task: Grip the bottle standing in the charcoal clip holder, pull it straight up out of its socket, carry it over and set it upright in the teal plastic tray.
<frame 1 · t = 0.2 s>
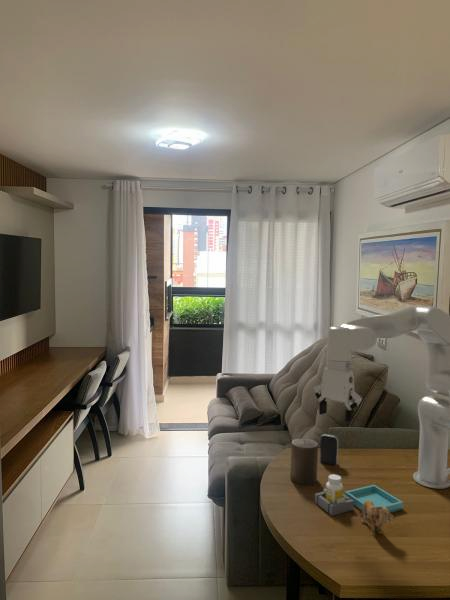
hand: (335, 417, 144), 30 cm above the table, tool pointing down, fingers open, 9 cm apart
clip holder: (333, 506, 146), on the table
tray: (373, 503, 148), on the table
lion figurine: (374, 528, 134), on the table
battery charger: (329, 462, 180), on the table
pillar candle: (303, 479, 165), on the table
supplement bottle: (333, 506, 146), resting in clip holder
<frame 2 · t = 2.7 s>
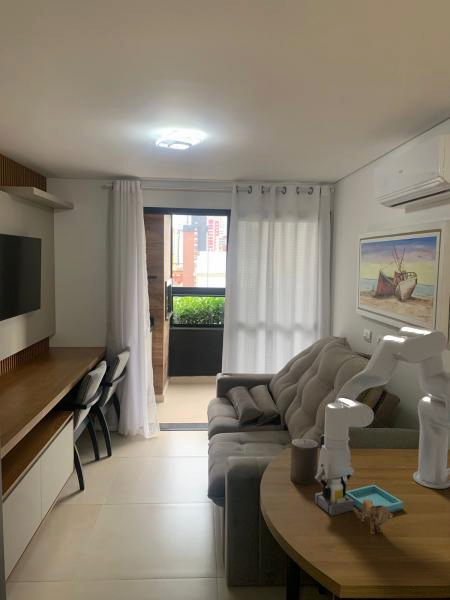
hand: (334, 495, 146), 4 cm above the table, tool pointing down, fingers closed on supplement bottle, 5 cm apart
supplement bottle: (333, 506, 146), resting in clip holder, touching gripper
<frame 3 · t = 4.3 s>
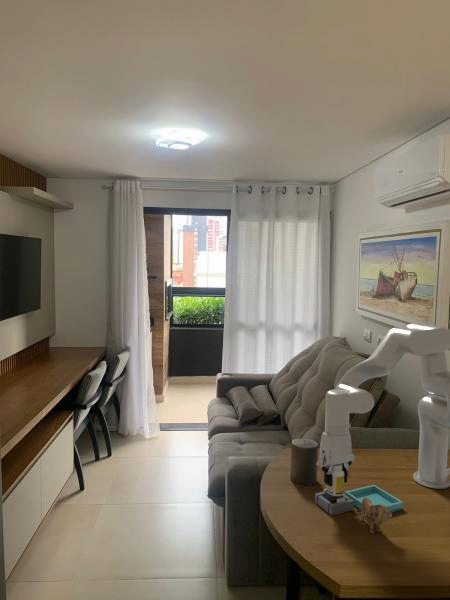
hand: (335, 482, 146), 8 cm above the table, tool pointing down, fingers closed on supplement bottle, 5 cm apart
supplement bottle: (335, 493, 146), point 4 cm above the table, touching gripper
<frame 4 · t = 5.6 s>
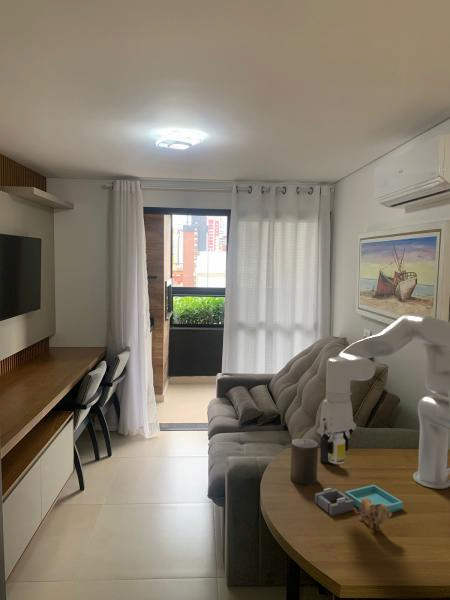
hand: (336, 450, 145), 19 cm above the table, tool pointing down, fingers closed on supplement bottle, 5 cm apart
supplement bottle: (336, 461, 145), point 15 cm above the table, touching gripper
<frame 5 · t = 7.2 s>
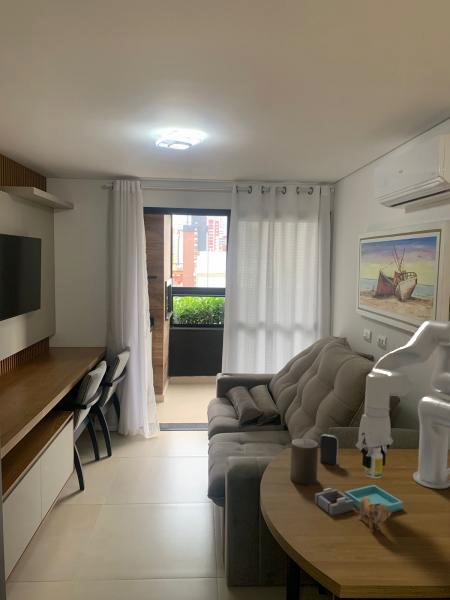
hand: (373, 464, 147), 13 cm above the table, tool pointing down, fingers closed on supplement bottle, 5 cm apart
supplement bottle: (373, 475, 147), point 10 cm above the table, touching gripper
when the fingers open (6 cm above the table, at t = 8.7 s): supplement bottle drops 1 cm, resting on tray.
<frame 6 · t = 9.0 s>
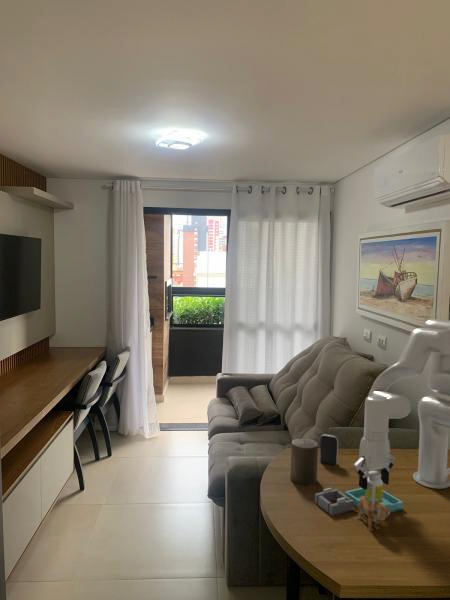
hand: (373, 485, 148), 6 cm above the table, tool pointing down, fingers open, 8 cm apart
supplement bottle: (373, 502, 148), resting on tray
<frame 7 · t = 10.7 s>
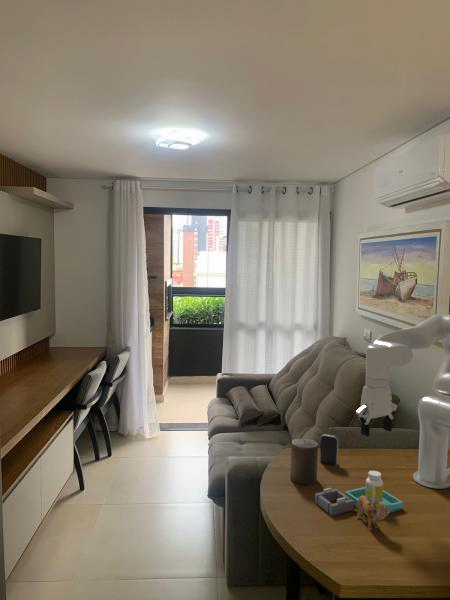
hand: (376, 432, 149), 23 cm above the table, tool pointing down, fingers open, 9 cm apart
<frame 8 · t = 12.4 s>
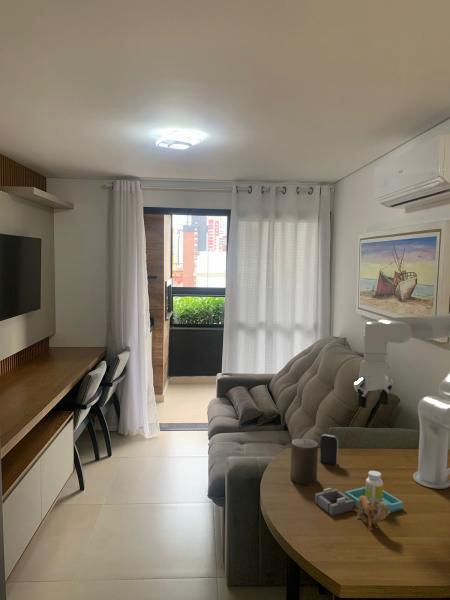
hand: (373, 405, 156), 30 cm above the table, tool pointing down, fingers open, 9 cm apart
at the end: supplement bottle 0.3 cm off-centre on the tray, point 0.4 cm above the tray's base; supplement bottle tilted 0°; the gripper is holding nothing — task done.
